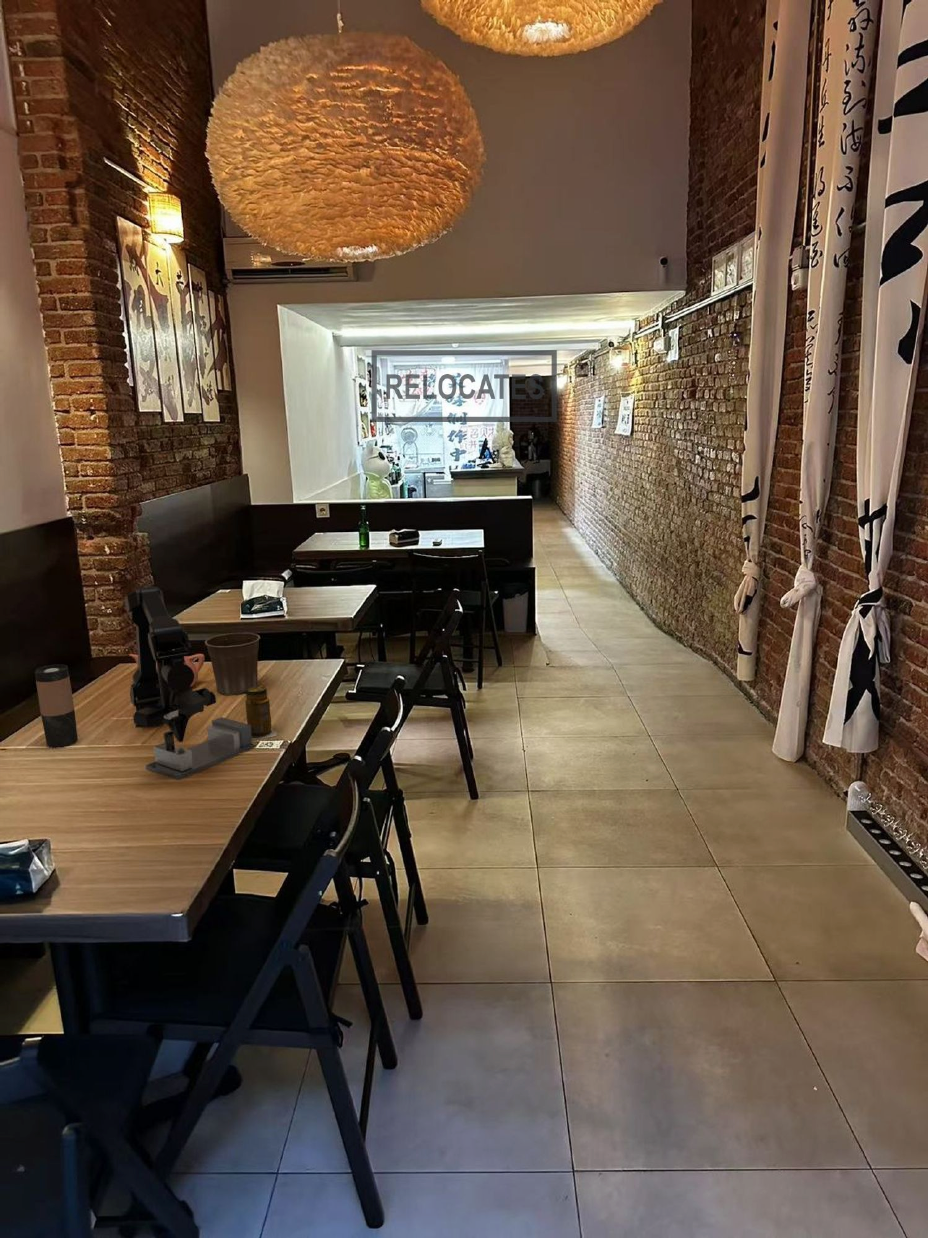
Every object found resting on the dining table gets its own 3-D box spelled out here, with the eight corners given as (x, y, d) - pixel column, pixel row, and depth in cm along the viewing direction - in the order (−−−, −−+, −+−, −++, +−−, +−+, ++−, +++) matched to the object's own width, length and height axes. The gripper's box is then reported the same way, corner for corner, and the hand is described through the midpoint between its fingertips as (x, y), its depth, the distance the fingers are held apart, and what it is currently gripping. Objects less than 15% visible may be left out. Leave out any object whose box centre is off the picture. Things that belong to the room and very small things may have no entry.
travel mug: (85, 739, 202) (74, 665, 197) (59, 750, 195) (48, 674, 191) (65, 735, 205) (54, 663, 201) (39, 746, 198) (27, 671, 194)
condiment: (270, 726, 208) (266, 683, 205) (277, 736, 201) (273, 692, 198) (243, 731, 205) (238, 687, 202) (249, 741, 198) (244, 696, 195)
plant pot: (256, 697, 232) (251, 645, 229) (202, 698, 233) (197, 646, 229) (270, 680, 248) (266, 631, 244) (220, 682, 248) (215, 633, 245)
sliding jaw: (182, 771, 177) (178, 738, 176) (155, 762, 183) (151, 730, 181) (193, 766, 180) (189, 734, 178) (166, 758, 185) (162, 726, 184)
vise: (178, 780, 176) (175, 755, 174) (146, 769, 182) (143, 745, 181) (253, 747, 193) (251, 725, 192) (222, 738, 200) (220, 716, 199)
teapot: (129, 698, 235) (124, 659, 232) (137, 683, 249) (133, 646, 246) (205, 691, 239) (201, 653, 236) (209, 677, 254) (205, 641, 251)
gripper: (158, 696, 167) (167, 763, 170) (227, 672, 181) (234, 734, 185) (127, 688, 173) (137, 753, 176) (197, 665, 188) (204, 726, 191)
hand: (180, 741), depth 182 cm, fingers closed
